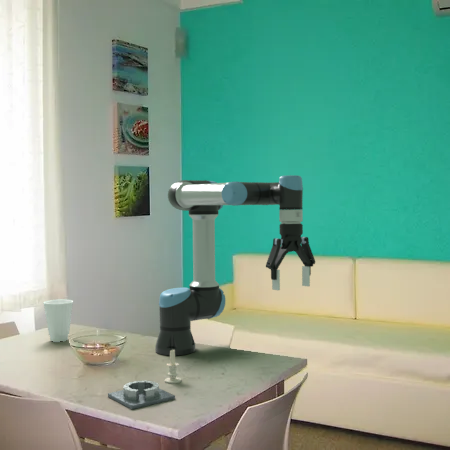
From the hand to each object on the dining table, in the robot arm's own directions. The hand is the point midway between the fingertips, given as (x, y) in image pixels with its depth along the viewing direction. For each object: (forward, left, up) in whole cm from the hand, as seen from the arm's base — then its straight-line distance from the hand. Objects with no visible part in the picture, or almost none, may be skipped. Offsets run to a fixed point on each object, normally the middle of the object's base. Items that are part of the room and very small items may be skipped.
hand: (291, 288), depth 196 cm
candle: (-17, -35, -28) cm, 48 cm away
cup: (-95, -40, -28) cm, 107 cm away
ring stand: (-9, -51, -28) cm, 59 cm away
